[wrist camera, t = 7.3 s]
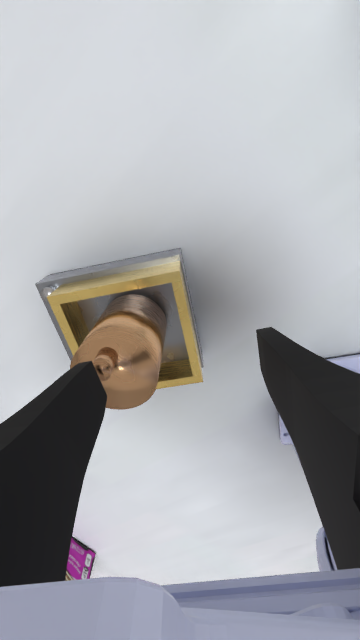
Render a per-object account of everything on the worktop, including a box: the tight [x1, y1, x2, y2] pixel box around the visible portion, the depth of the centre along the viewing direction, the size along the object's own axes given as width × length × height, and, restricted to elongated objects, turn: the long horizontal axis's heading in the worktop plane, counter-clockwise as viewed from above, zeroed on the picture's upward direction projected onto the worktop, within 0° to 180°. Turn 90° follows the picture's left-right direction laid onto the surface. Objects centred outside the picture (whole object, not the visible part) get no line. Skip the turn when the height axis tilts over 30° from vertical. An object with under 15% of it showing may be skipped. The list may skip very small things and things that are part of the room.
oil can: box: [70, 294, 167, 409], centre depth 16 cm, size 5×5×7 cm
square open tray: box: [35, 248, 203, 389], centre depth 20 cm, size 9×10×4 cm
